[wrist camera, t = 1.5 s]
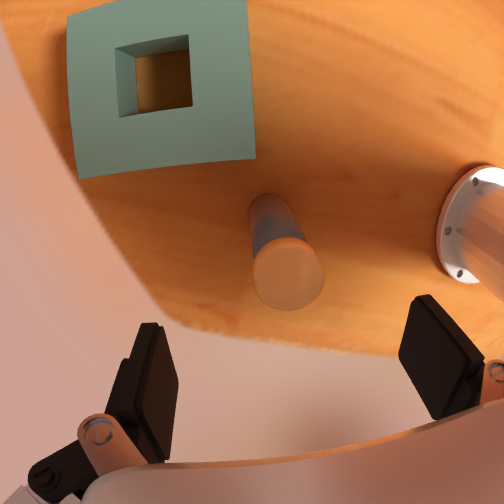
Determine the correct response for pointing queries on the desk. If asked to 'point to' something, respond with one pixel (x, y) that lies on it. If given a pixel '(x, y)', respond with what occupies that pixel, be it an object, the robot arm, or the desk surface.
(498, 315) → the desk surface
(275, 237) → the round peg
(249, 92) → the socket block
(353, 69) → the desk surface
